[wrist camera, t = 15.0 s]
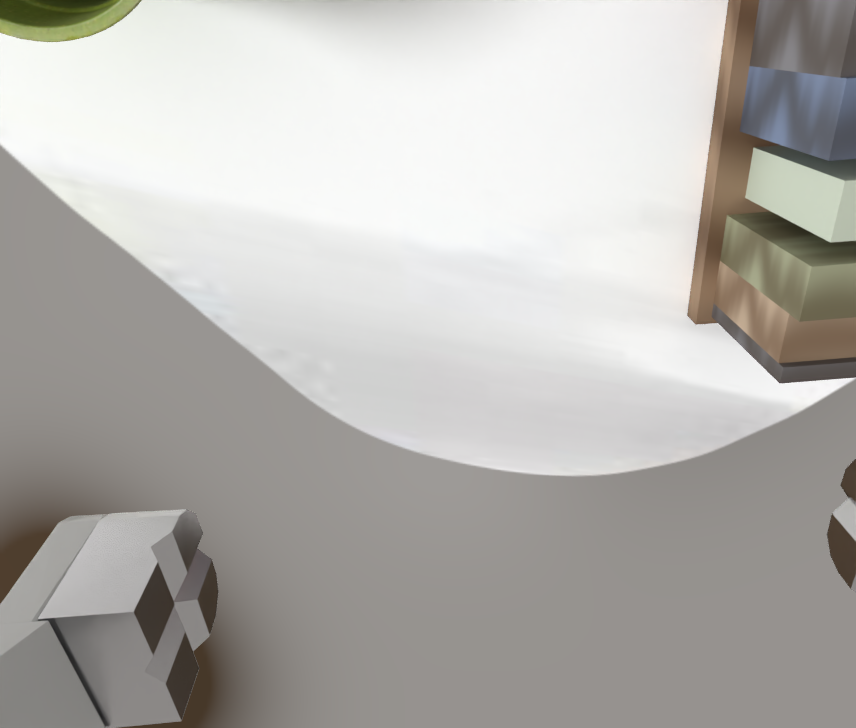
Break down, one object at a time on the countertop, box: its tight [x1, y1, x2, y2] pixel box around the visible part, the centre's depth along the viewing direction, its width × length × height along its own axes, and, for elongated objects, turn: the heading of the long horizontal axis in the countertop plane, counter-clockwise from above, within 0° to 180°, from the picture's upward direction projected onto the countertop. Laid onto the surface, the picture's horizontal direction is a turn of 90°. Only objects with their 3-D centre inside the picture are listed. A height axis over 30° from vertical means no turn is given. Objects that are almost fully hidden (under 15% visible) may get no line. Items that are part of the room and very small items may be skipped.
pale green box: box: [745, 145, 856, 243], centre depth 34 cm, size 3×6×9 cm, turn 94°
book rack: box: [687, 0, 856, 383], centre depth 34 cm, size 24×10×11 cm, turn 4°
